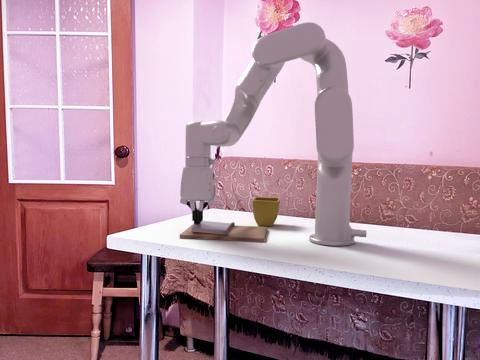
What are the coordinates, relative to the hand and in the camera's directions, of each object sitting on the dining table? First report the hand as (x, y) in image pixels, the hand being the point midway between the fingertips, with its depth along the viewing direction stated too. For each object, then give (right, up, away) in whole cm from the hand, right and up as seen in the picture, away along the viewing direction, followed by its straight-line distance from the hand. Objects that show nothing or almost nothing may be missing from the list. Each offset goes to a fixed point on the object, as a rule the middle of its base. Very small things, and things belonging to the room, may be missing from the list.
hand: (197, 223), depth 133 cm
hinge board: (+9, -3, -1) cm, 9 cm away
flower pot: (+22, -2, +16) cm, 27 cm away
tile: (+5, -1, 0) cm, 5 cm away
